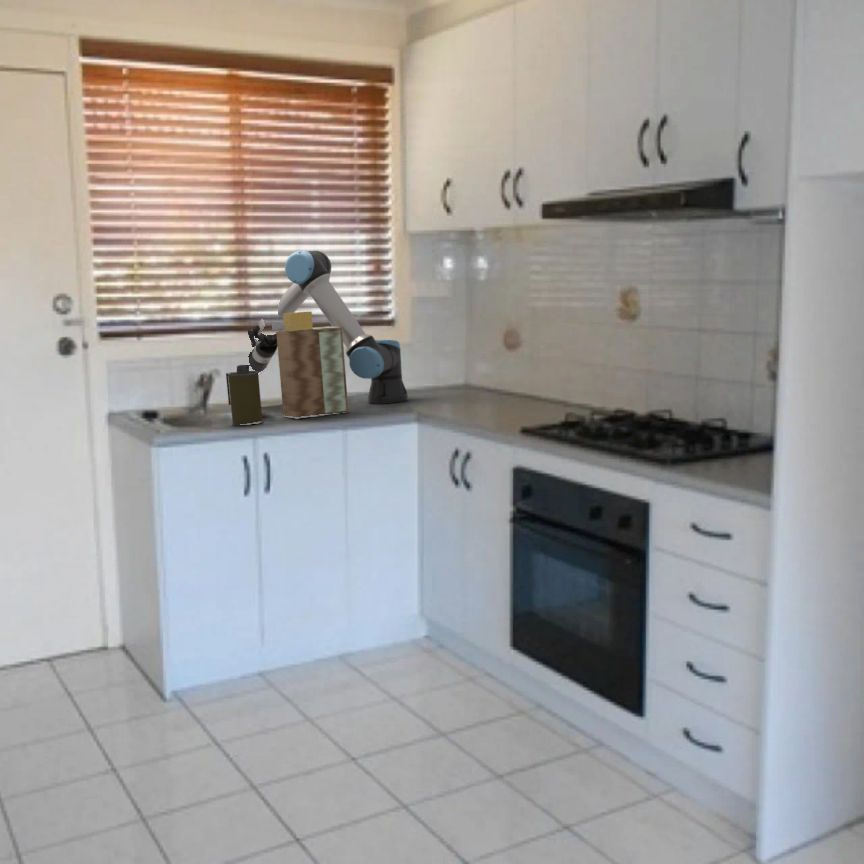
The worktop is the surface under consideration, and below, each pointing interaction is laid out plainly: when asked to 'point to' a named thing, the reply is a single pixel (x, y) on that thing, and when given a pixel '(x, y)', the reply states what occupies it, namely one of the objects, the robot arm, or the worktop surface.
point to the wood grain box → (312, 371)
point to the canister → (244, 395)
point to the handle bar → (294, 322)
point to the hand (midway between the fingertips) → (281, 320)
